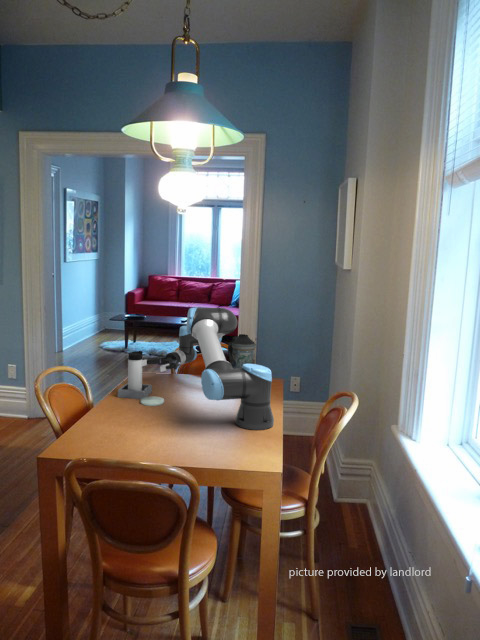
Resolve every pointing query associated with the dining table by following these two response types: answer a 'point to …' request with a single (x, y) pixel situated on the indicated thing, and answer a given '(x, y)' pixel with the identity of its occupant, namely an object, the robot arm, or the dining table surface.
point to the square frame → (134, 392)
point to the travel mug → (135, 371)
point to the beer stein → (241, 351)
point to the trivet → (152, 401)
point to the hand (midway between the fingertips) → (148, 366)
